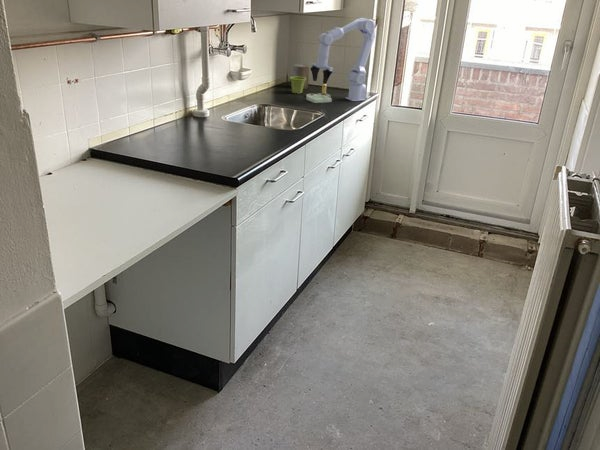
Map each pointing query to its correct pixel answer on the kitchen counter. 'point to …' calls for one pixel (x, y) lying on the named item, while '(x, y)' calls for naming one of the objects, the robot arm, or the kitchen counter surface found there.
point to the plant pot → (297, 84)
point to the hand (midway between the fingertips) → (319, 82)
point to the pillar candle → (302, 73)
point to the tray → (319, 99)
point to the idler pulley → (311, 94)
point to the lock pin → (324, 89)
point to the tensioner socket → (325, 95)
